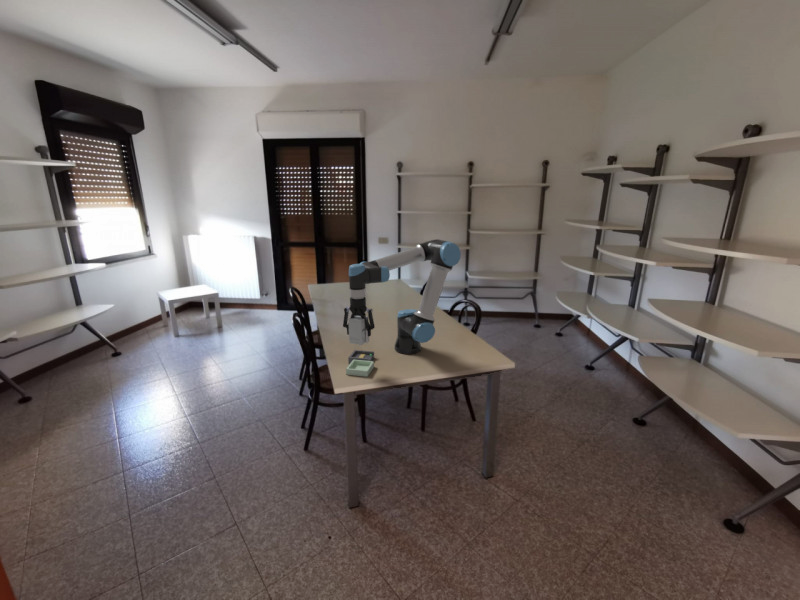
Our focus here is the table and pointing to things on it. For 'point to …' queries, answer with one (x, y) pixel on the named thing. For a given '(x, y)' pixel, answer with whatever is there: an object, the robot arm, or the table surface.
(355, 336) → the supplement box
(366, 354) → the dark gray open-sided tray
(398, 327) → the robot arm
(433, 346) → the table surface
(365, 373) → the trough tray
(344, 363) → the table surface
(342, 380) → the table surface
